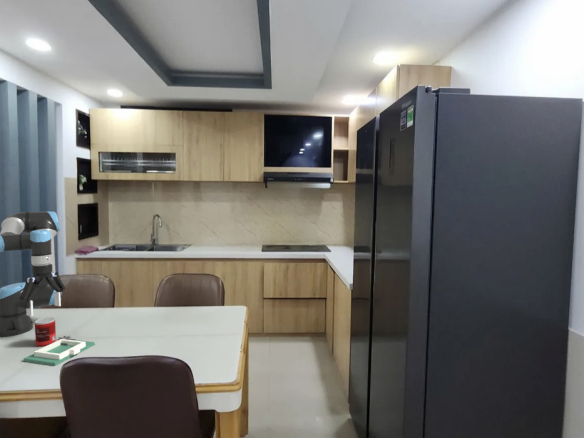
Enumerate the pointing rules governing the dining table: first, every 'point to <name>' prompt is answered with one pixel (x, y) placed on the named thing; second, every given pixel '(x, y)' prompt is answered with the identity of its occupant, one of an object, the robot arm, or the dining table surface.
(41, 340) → the canned food
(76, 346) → the board
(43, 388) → the dining table surface
